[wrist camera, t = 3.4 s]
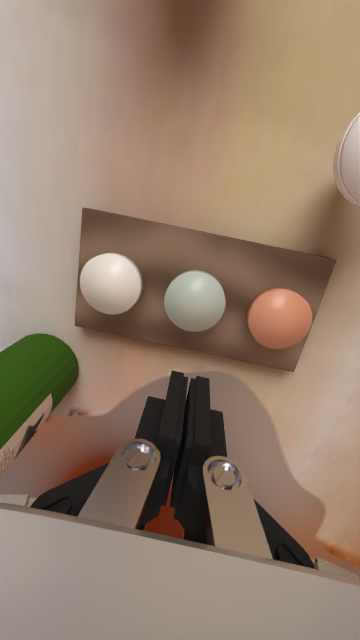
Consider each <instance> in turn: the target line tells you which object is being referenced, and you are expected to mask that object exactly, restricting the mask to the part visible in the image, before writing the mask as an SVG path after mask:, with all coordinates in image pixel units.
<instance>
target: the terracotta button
mask: <svg viewBox="0 0 360 640" xmlns="http://www.w3.org/2000/svg"><path fill="white" fill-rule="evenodd" d="M247 324H248V327H249V329H250V332H251V334H252V336H253V337H254V339H255V340H256V341H257V342H259V343H260V344H261V345H263V346H265V347H268V348H272V349H284V348H288V347H291V346H293V345H295V344H297V343H298V342H300V341H301V340H302V339H303V338H304V337H305V336H306V335H307V333H308V332H309V330H310V327H311V324H312V311H311V308H310V306H309V304H308V302H307V301H306V300H305V299H304V298H303V297H302V296H300V295H299V294H298V293H296V292H295V291H293V290H291V289H288V288H283V287H275V288H270V289H267V290H265V291H263V292H261V293H260V294H258V295H257V296H256V297H255V298H254V299H253V300H252V302H251V303H250V305H249V307H248V310H247Z"/></svg>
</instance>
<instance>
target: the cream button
mask: <svg viewBox="0 0 360 640" xmlns="http://www.w3.org/2000/svg"><path fill="white" fill-rule="evenodd" d="M80 288H81V292H82V294H83V296H84V298H85V300H86V301H87V302H88V303H89V304H90V305H91V306H92V307H93V308H94V309H96V310H97V311H99V312H102V313H105V314H112V315H114V314H121V313H123V312H125V311H127V310H129V309H130V308H131V307H132V306H133V305H134V304H135V303H136V302H137V300H138V299H139V297H140V296H141V293H142V289H143V278H142V275H141V272H140V270H139V268H138V267H137V265H136V264H135V263H134V262H133V261H132V260H131V259H130V258H128V257H127V256H125V255H122V254H119V253H105V254H102V255H98V256H96V257H94V258H92V259H90V260H89V261H88V262H87V263H86V264H85V266H84V267H83V269H82V271H81V275H80Z"/></svg>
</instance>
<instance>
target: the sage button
mask: <svg viewBox="0 0 360 640" xmlns="http://www.w3.org/2000/svg"><path fill="white" fill-rule="evenodd" d="M225 303H226V301H225V295H224V291H223V288H222V286H221V284H220V283H219V281H218V280H217V279H216V278H215V277H214V276H213V275H211V274H210V273H207V272H205V271H201V270H189V271H185V272H183V273H181V274H179V275H178V276H176V277H175V278H174V279H173V280H172V282H171V283H170V285H169V287H168V289H167V291H166V293H165V298H164V306H165V311H166V313H167V315H168V317H169V319H170V320H171V321H172V322H173V323H174V324H175V325H176V326H178V327H179V328H181V329H183V330H186V331H191V332H199V331H204V330H207V329H209V328H211V327H212V326H214V325H215V324H216V323H217V322H218V321H219V320H220V318H221V317H222V315H223V313H224V310H225Z"/></svg>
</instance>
